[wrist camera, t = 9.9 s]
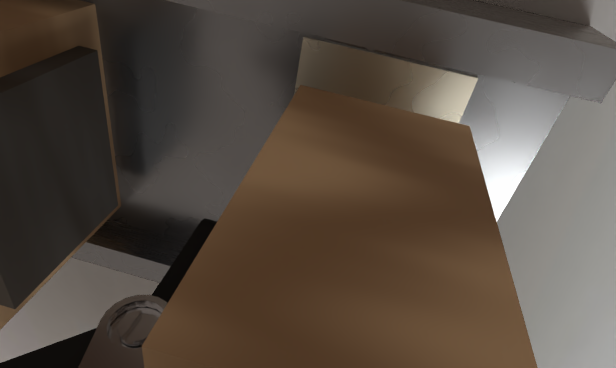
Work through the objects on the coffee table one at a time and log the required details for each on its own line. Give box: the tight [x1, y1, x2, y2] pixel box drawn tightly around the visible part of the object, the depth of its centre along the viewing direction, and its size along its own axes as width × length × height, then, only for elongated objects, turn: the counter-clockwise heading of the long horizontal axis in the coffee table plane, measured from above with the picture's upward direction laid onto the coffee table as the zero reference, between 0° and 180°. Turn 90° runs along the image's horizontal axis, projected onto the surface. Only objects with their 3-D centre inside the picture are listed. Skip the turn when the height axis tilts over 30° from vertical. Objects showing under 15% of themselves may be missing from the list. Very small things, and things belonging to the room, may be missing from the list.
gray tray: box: [72, 0, 616, 283], centre depth 14 cm, size 20×12×2 cm, turn 80°
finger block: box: [142, 85, 537, 368], centre depth 9 cm, size 4×8×7 cm, turn 170°
